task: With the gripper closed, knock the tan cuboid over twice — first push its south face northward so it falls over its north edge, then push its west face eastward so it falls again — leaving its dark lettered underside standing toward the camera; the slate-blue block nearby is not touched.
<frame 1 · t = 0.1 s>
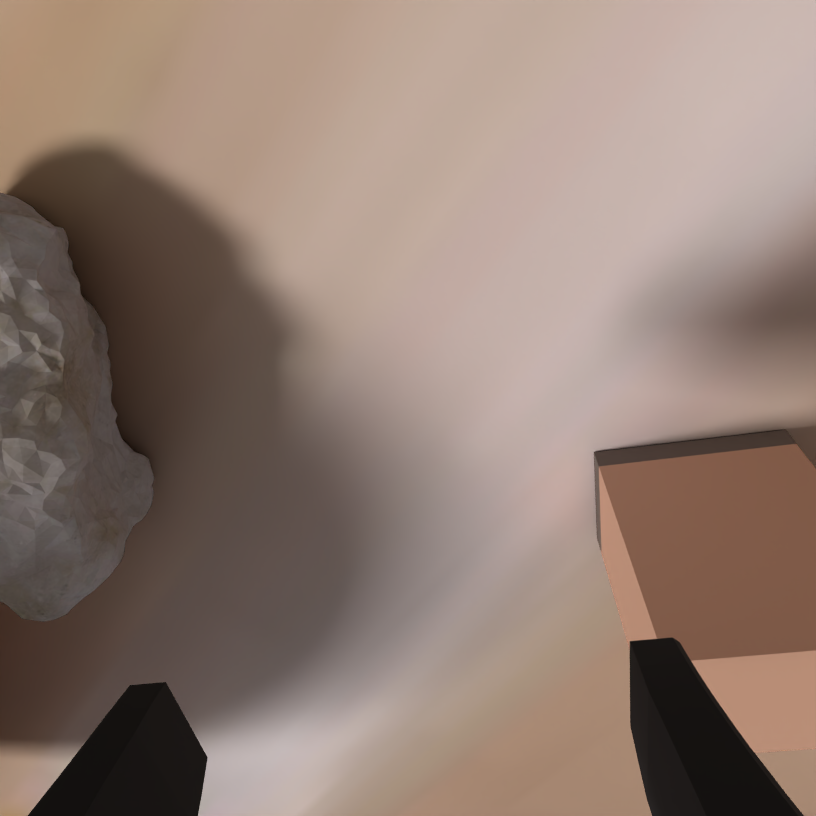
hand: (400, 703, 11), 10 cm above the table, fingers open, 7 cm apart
tan cuboid: (685, 486, 21), on the table
stone: (41, 360, 20), on the table
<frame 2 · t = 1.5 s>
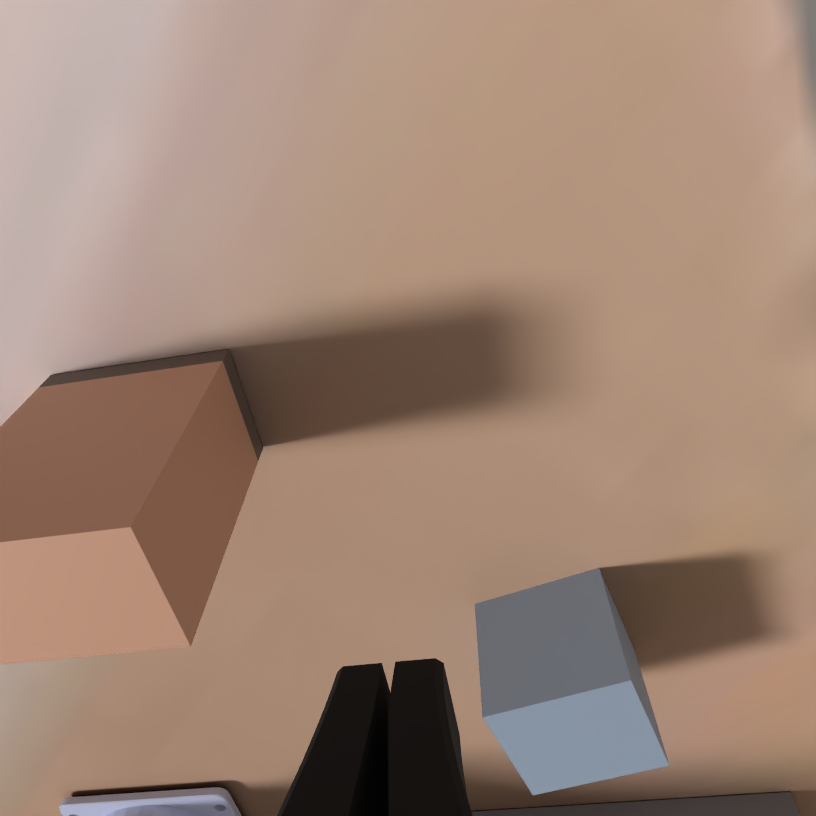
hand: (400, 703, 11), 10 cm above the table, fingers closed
slate block: (555, 625, 25), on the table
tan cuboid: (159, 412, 21), on the table
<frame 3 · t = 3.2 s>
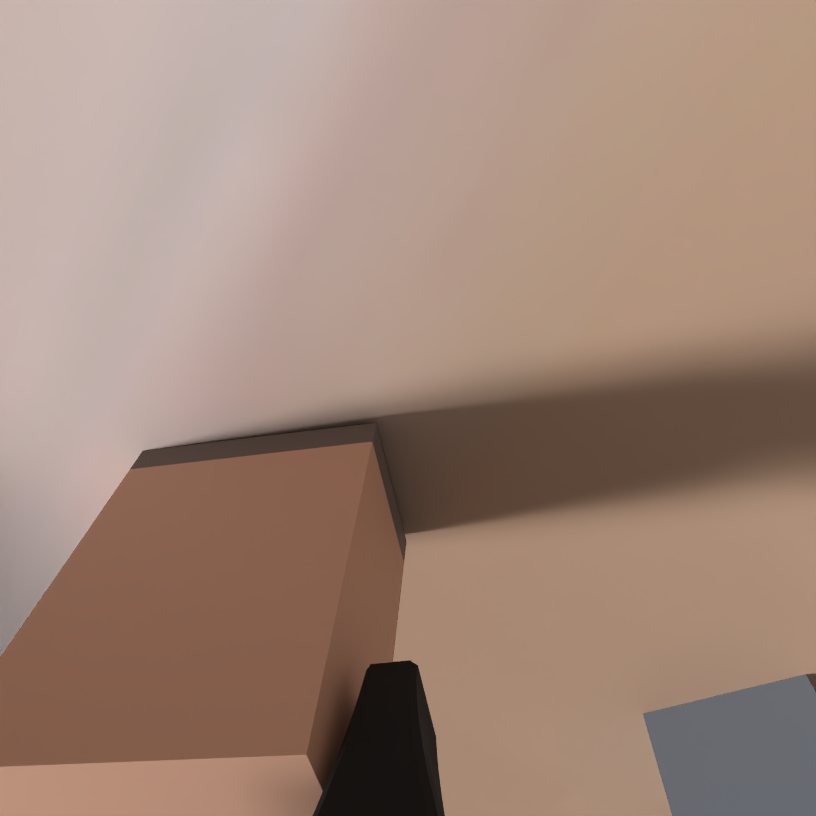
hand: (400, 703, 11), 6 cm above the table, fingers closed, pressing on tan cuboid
slate block: (737, 736, 20), on the table
tan cuboid: (278, 497, 16), on the table, touching gripper
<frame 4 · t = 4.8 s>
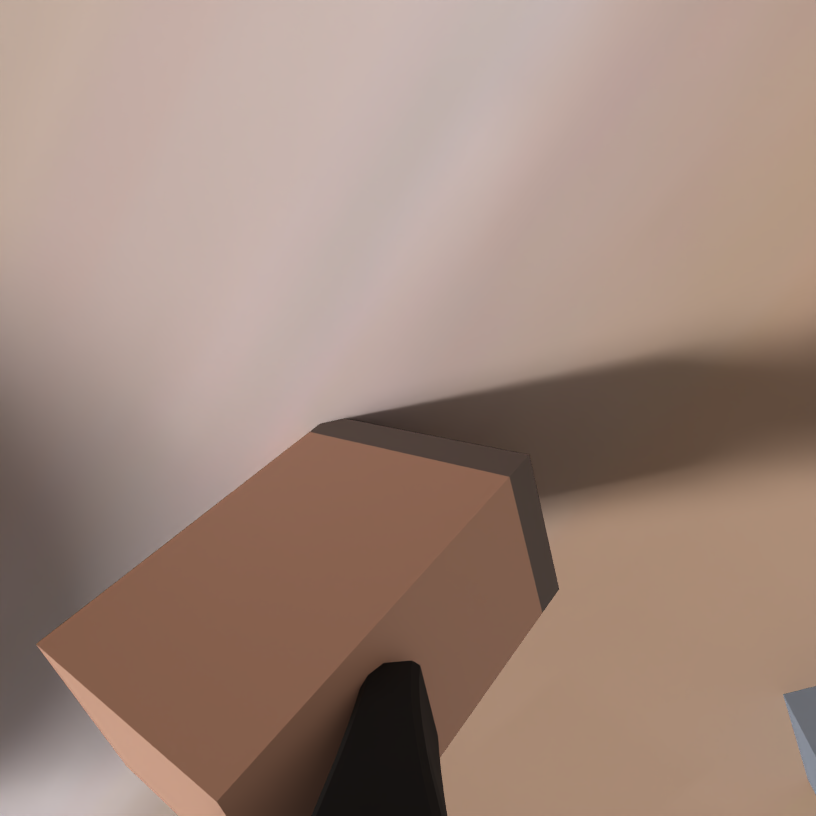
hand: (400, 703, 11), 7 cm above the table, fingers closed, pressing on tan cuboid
tan cuboid: (437, 496, 15), point 1 cm above the table, tilted 38°, touching gripper
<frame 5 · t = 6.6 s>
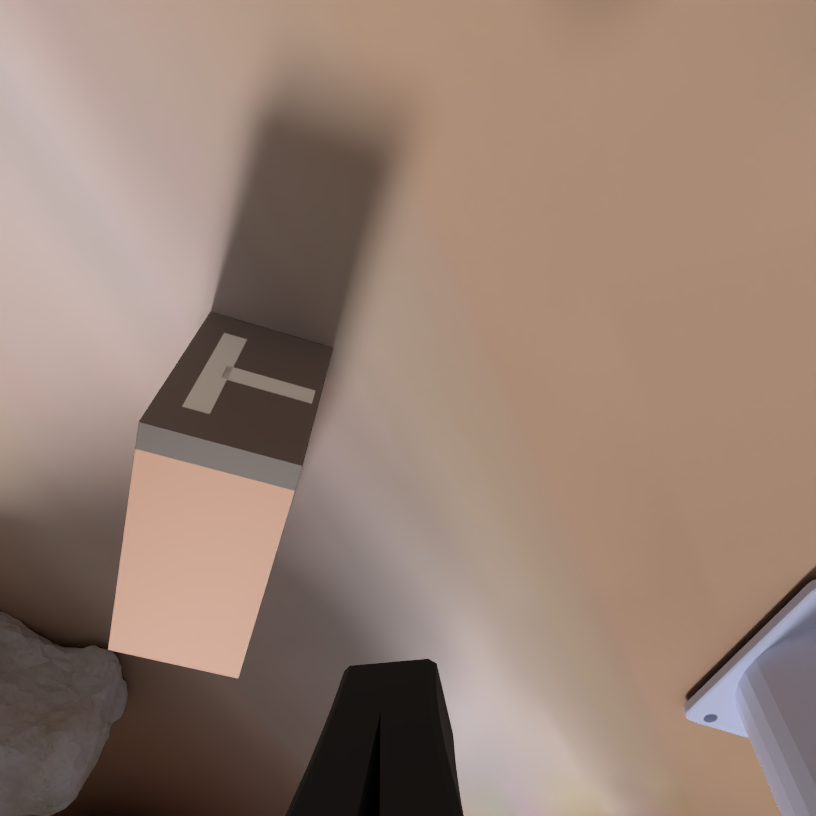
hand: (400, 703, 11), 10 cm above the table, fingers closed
tan cuboid: (250, 379, 17), point 3 cm above the table, tilted 90°
stone: (3, 641, 26), on the table
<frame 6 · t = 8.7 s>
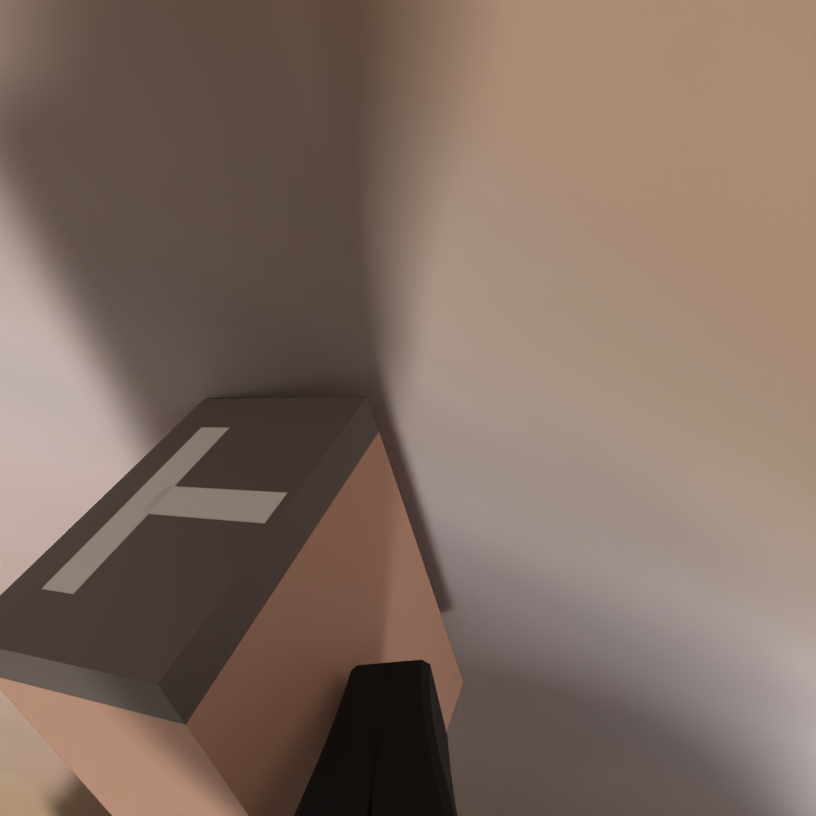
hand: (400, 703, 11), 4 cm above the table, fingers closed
tan cuboid: (187, 501, 10), point 3 cm above the table, tilted 90°
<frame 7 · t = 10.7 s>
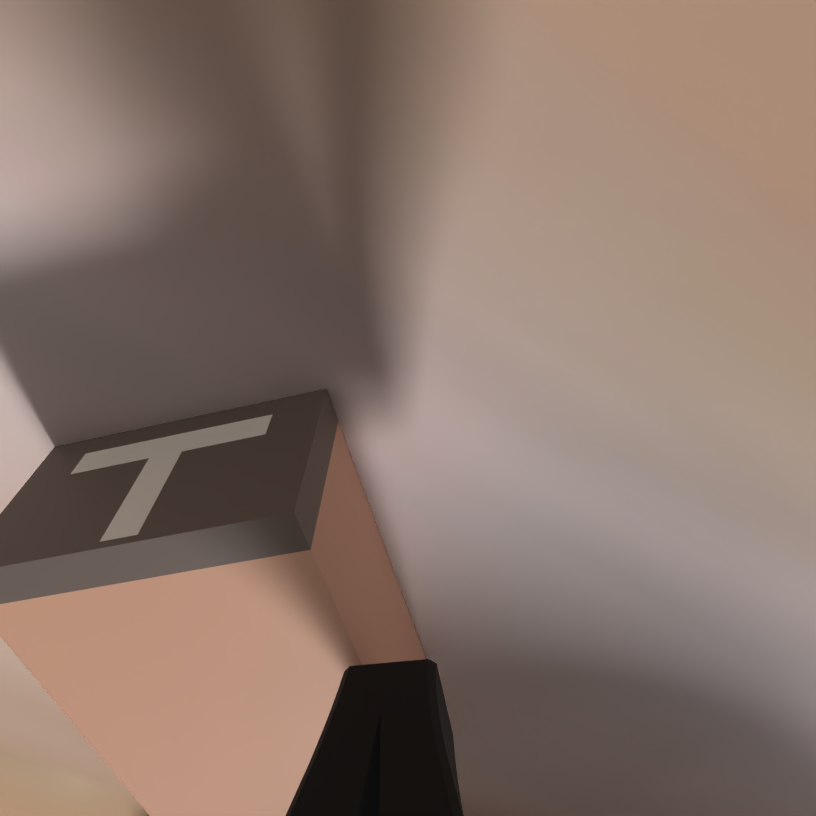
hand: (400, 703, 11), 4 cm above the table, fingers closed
tan cuboid: (155, 472, 11), point 2 cm above the table, tilted 90°
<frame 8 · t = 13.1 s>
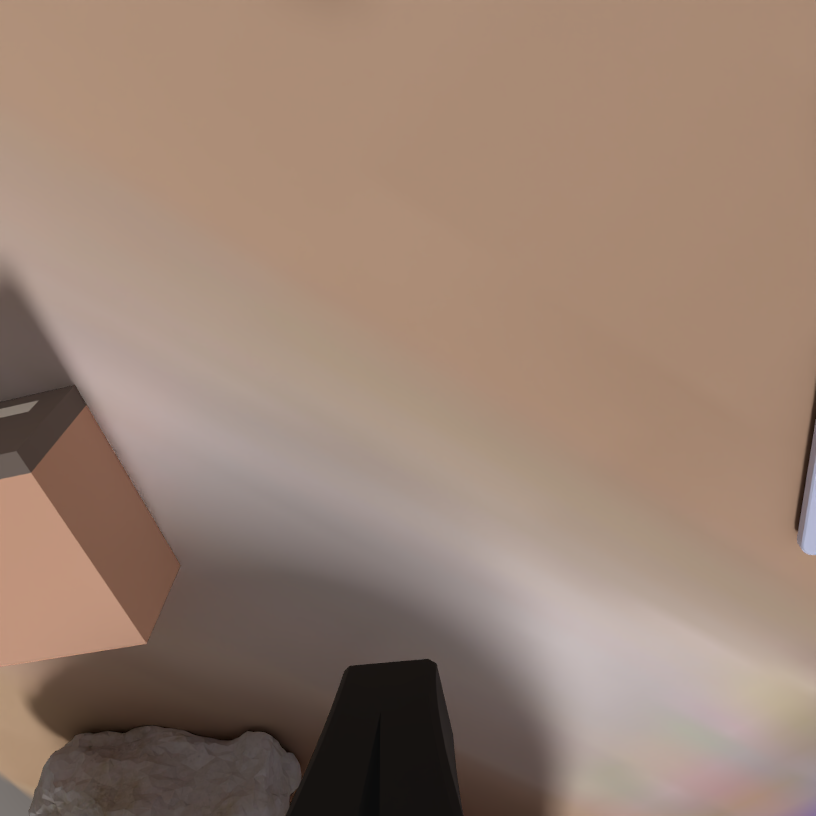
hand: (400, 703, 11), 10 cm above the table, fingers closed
stone: (188, 751, 30), on the table
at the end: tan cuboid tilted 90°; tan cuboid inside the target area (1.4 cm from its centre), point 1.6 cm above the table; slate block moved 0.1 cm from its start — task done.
